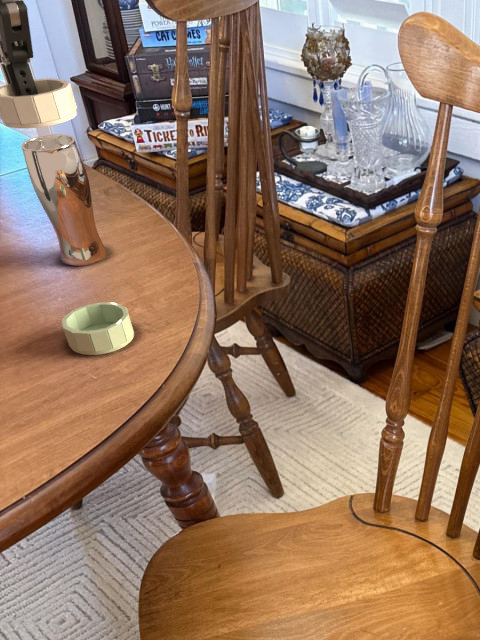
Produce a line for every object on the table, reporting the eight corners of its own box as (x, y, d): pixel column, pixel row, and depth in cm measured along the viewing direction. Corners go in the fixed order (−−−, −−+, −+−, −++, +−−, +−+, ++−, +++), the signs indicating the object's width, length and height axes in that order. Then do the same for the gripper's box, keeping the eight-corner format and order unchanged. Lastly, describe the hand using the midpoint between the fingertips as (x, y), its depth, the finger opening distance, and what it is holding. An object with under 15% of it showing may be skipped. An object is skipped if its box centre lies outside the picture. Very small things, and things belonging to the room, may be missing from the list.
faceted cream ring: (14, 133, 77) (4, 101, 75) (-6, 117, 82) (-16, 87, 80) (87, 118, 80) (79, 87, 78) (64, 104, 85) (55, 74, 83)
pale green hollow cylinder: (94, 361, 88) (86, 339, 86) (57, 342, 92) (49, 320, 90) (147, 335, 92) (140, 313, 90) (109, 317, 96) (103, 296, 94)
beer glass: (119, 255, 109) (86, 140, 99) (74, 272, 106) (35, 154, 95) (94, 242, 113) (60, 130, 102) (49, 257, 109) (9, 143, 99)
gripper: (22, -110, 68) (84, 109, 80) (-20, -114, 76) (42, 85, 88) (-68, -103, 65) (10, 124, 77) (-102, -107, 73) (-26, 98, 85)
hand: (27, 103), depth 82 cm, fingers closed on faceted cream ring, 1 cm apart
